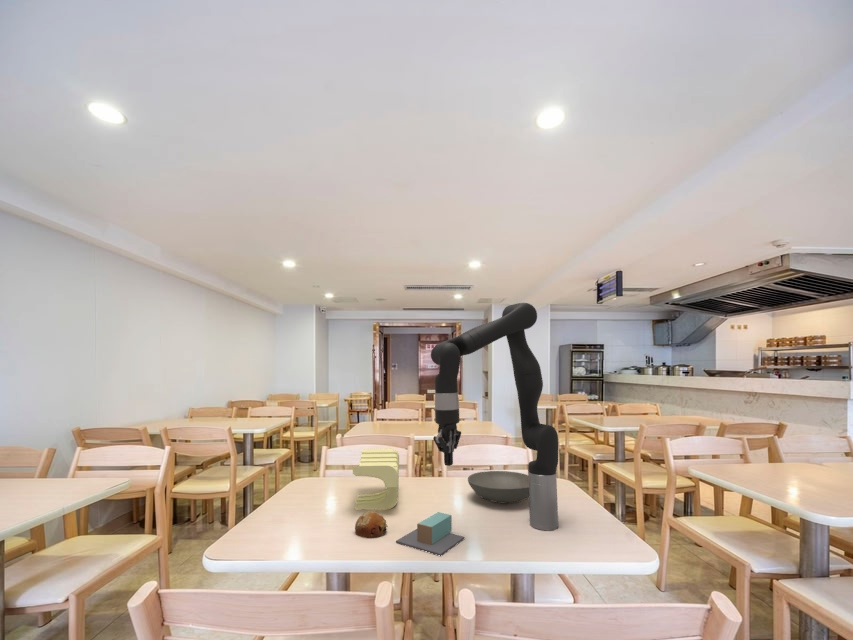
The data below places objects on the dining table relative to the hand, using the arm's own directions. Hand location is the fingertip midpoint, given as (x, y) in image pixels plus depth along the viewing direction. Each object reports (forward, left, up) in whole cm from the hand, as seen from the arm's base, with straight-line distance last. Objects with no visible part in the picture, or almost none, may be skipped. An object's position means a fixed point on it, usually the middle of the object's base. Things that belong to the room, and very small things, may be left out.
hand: (448, 464), depth 125 cm
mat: (+1, -6, -23) cm, 24 cm away
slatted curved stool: (-16, -42, -23) cm, 51 cm away
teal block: (-8, -6, -20) cm, 22 cm away
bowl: (-47, -3, -24) cm, 53 cm away
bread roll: (+6, -26, -24) cm, 35 cm away
